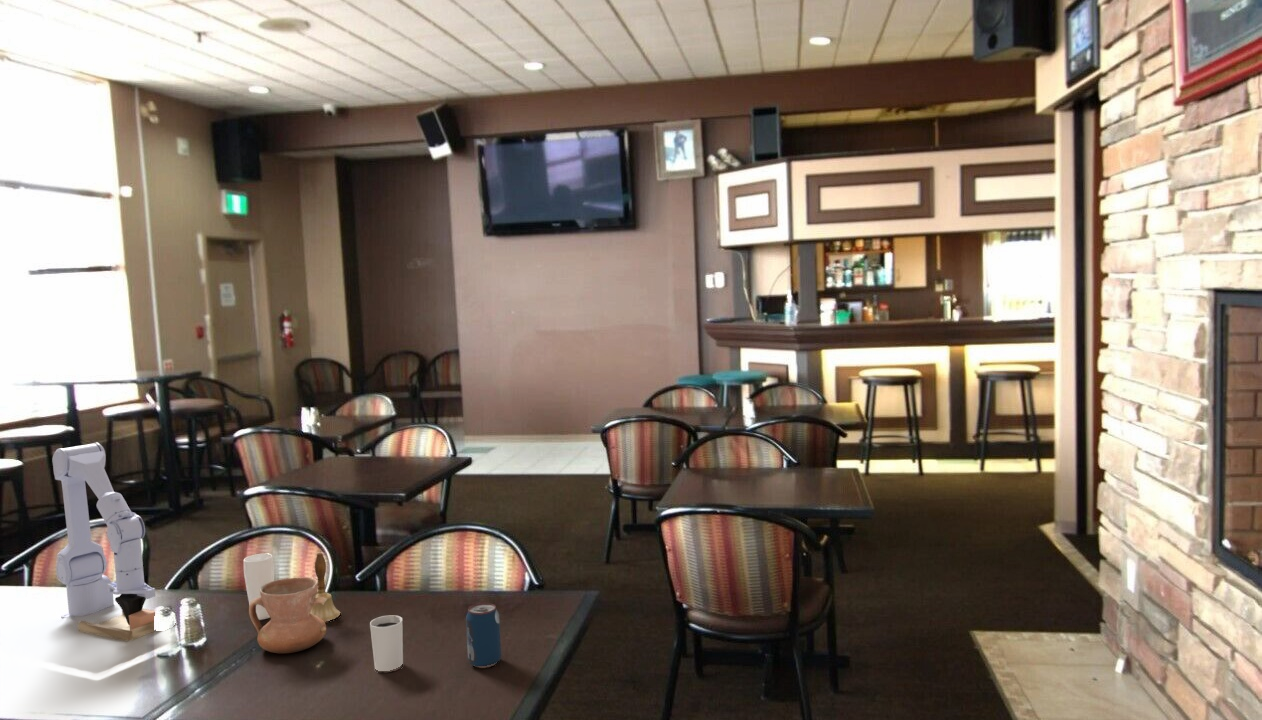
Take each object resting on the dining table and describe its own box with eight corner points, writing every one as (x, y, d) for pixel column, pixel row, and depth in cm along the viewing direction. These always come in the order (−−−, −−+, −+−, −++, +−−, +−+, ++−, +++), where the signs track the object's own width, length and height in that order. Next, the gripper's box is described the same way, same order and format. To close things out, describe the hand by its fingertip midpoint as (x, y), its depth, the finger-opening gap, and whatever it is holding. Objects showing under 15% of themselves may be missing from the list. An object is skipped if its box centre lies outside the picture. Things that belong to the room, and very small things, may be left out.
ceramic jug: (343, 633, 205) (339, 574, 203) (313, 660, 190) (309, 596, 189) (270, 633, 207) (265, 574, 206) (235, 659, 192) (230, 595, 191)
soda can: (507, 658, 188) (504, 603, 187) (491, 671, 181) (488, 615, 180) (478, 654, 190) (475, 600, 189) (462, 668, 184) (459, 612, 183)
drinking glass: (266, 622, 213) (262, 562, 212) (241, 621, 215) (237, 561, 213) (282, 612, 220) (278, 553, 219) (258, 611, 221) (254, 552, 220)
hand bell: (310, 612, 219) (306, 549, 218) (344, 610, 220) (340, 547, 219) (301, 625, 211) (296, 560, 210) (336, 622, 212) (332, 558, 210)
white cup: (376, 677, 181) (373, 629, 180) (369, 665, 187) (366, 619, 186) (408, 669, 184) (405, 623, 183) (401, 658, 190) (398, 613, 189)
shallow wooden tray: (126, 617, 220) (125, 605, 220) (175, 627, 212) (174, 614, 212) (79, 635, 209) (78, 622, 209) (129, 646, 202) (128, 632, 201)
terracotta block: (145, 625, 211) (144, 609, 211) (157, 627, 209) (155, 611, 209) (130, 631, 207) (128, 615, 207) (141, 634, 206) (140, 617, 205)
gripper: (92, 570, 208) (97, 625, 209) (133, 576, 202) (138, 634, 203) (121, 561, 214) (125, 615, 216) (161, 567, 208) (166, 623, 209)
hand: (133, 623), depth 210 cm, fingers closed
